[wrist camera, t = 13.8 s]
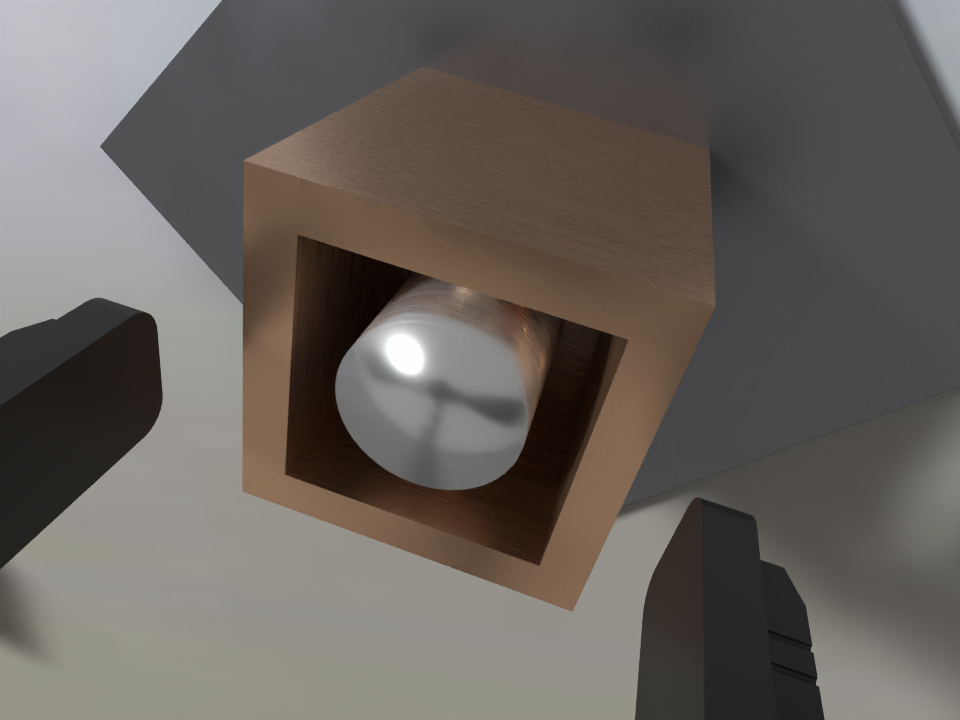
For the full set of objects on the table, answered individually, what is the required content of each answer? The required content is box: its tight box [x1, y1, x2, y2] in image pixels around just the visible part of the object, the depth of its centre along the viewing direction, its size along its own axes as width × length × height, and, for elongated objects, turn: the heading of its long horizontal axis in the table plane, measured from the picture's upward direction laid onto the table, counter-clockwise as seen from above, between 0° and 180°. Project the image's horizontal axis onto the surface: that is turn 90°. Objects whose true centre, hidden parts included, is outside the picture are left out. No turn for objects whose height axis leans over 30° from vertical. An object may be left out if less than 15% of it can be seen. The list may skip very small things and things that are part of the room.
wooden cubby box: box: [243, 67, 715, 611], centre depth 13 cm, size 6×6×7 cm
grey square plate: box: [100, 0, 960, 507], centre depth 14 cm, size 16×16×8 cm
